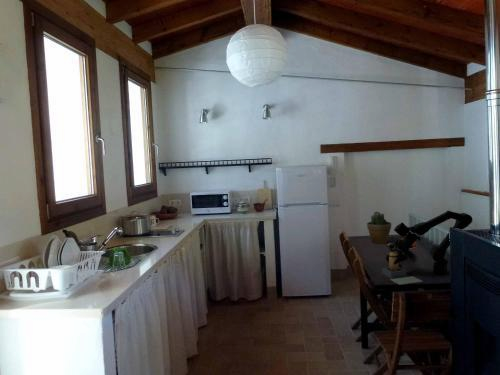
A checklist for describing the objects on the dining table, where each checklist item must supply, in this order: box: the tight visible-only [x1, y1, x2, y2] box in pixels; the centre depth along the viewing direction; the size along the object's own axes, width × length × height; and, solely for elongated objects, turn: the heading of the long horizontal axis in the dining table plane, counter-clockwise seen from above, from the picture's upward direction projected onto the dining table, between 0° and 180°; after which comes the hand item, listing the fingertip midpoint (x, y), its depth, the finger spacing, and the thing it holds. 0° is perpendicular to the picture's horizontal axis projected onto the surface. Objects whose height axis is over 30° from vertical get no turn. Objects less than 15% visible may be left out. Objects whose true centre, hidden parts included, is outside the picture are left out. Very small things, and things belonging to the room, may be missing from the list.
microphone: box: [385, 253, 403, 269], centre depth 246 cm, size 6×6×20 cm
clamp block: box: [381, 266, 408, 279], centre depth 225 cm, size 11×11×4 cm
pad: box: [389, 275, 423, 286], centre depth 214 cm, size 14×9×1 cm, turn 101°
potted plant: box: [366, 211, 392, 245], centre depth 306 cm, size 18×19×25 cm
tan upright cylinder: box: [388, 251, 400, 272], centre depth 225 cm, size 5×5×12 cm
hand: (391, 262), depth 225 cm, fingers closed on tan upright cylinder, 5 cm apart
